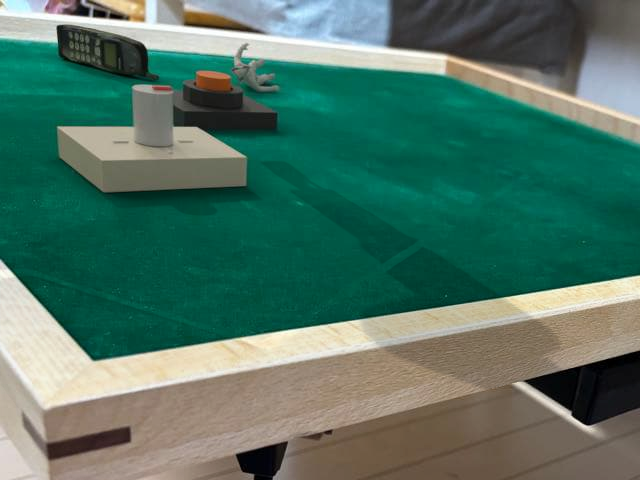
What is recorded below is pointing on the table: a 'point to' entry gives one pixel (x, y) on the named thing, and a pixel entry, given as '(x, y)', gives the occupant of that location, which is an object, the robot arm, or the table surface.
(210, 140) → the plate
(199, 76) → the button
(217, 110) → the button box
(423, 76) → the table surface
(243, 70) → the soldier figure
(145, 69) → the mobile phone
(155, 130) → the grey cylinder
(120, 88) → the table surface
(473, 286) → the table surface
